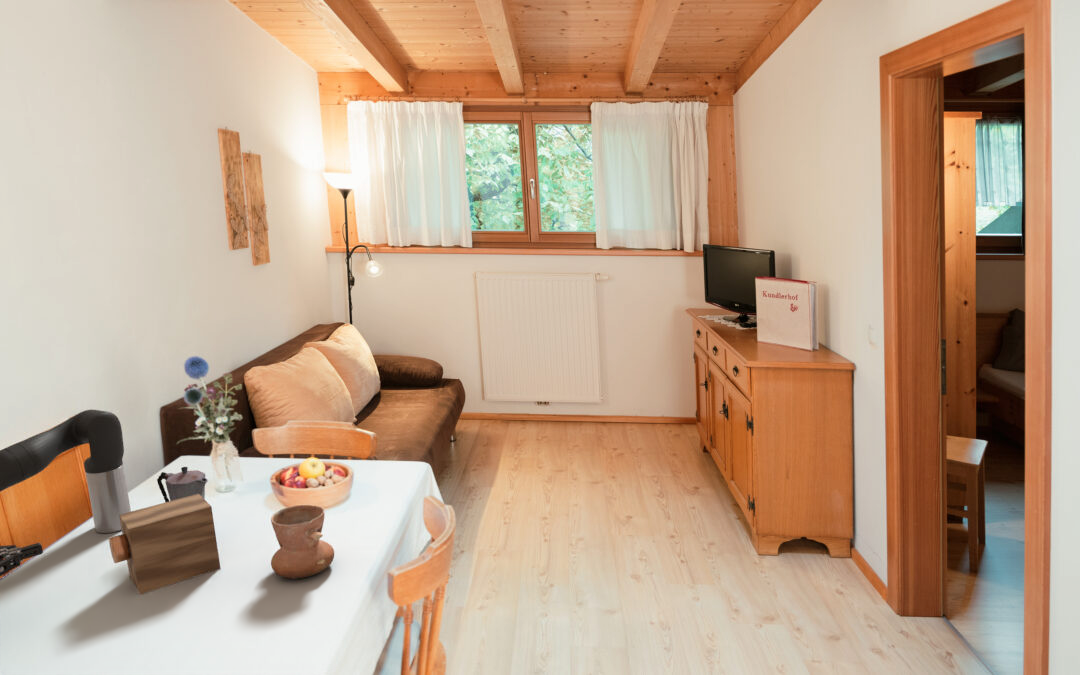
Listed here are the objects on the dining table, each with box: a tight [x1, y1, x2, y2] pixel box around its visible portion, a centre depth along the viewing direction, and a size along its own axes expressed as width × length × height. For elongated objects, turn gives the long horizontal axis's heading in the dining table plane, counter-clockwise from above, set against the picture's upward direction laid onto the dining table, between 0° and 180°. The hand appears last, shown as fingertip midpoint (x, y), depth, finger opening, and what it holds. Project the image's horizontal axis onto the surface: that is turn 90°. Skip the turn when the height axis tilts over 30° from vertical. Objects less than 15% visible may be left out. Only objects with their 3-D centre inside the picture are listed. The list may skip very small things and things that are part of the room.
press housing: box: [119, 494, 221, 595], centre depth 193 cm, size 11×18×16 cm, turn 127°
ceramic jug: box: [270, 504, 335, 579], centre depth 192 cm, size 18×14×14 cm
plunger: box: [108, 533, 130, 564], centre depth 192 cm, size 6×21×6 cm, turn 127°
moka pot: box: [156, 466, 209, 503], centre depth 211 cm, size 10×15×20 cm, turn 79°
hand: (41, 547), depth 177 cm, fingers closed
